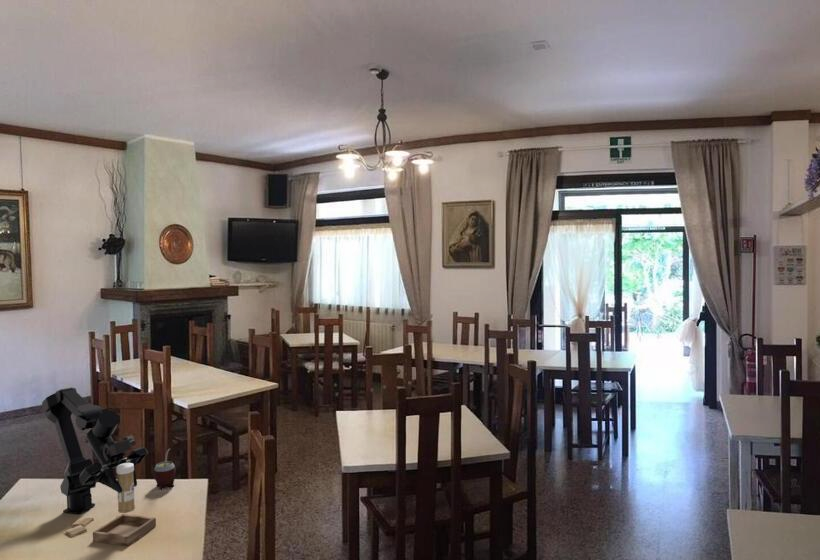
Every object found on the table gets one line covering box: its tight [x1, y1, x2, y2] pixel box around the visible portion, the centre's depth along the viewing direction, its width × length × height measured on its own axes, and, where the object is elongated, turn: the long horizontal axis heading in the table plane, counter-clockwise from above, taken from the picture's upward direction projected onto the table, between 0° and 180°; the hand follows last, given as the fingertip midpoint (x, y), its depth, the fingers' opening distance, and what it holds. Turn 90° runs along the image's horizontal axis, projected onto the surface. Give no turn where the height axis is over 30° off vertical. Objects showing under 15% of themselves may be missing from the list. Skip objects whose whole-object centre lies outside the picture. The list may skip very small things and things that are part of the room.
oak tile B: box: [65, 525, 88, 538], centre depth 164 cm, size 4×4×1 cm
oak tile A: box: [71, 517, 95, 528], centre depth 169 cm, size 4×4×1 cm
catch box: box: [92, 513, 157, 547], centre depth 163 cm, size 12×12×2 cm
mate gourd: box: [153, 447, 177, 491], centre depth 195 cm, size 8×8×15 cm
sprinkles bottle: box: [115, 463, 136, 514], centre depth 163 cm, size 5×5×13 cm
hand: (128, 488), depth 162 cm, fingers closed on sprinkles bottle, 4 cm apart
